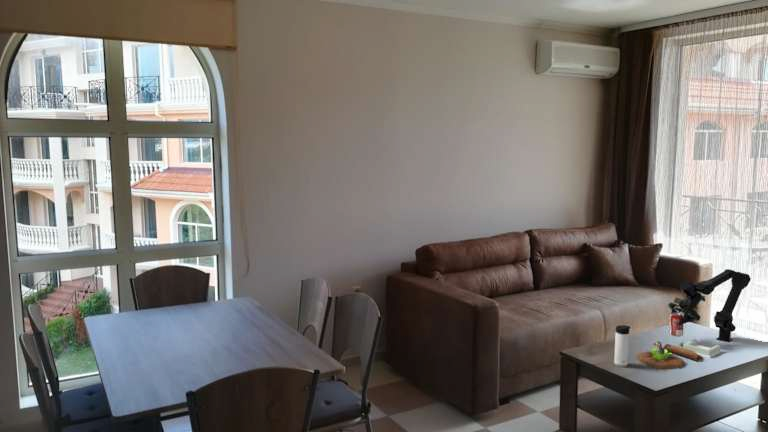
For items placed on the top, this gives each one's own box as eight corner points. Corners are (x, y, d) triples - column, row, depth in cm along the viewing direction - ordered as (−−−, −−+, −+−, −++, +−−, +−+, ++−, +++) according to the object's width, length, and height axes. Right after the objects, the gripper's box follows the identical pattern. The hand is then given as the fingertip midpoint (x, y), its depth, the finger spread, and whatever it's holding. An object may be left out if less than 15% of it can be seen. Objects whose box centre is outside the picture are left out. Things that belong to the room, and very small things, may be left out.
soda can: (685, 337, 313) (685, 315, 312) (671, 337, 314) (672, 315, 313) (680, 333, 320) (680, 312, 319) (667, 333, 321) (667, 312, 320)
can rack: (693, 345, 318) (693, 338, 317) (720, 352, 307) (721, 345, 306) (681, 350, 310) (682, 343, 309) (709, 357, 299) (710, 351, 298)
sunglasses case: (706, 358, 298) (703, 348, 295) (699, 367, 295) (696, 357, 293) (672, 348, 313) (669, 338, 310) (665, 356, 310) (662, 347, 308)
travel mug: (627, 368, 285) (629, 328, 283) (612, 365, 289) (614, 326, 286) (629, 364, 290) (631, 325, 288) (615, 361, 294) (617, 323, 292)
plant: (629, 358, 300) (630, 337, 298) (658, 353, 306) (659, 332, 305) (660, 372, 281) (661, 350, 280) (690, 366, 288) (692, 345, 286)
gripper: (671, 288, 325) (653, 309, 323) (696, 296, 307) (678, 318, 305) (682, 300, 327) (665, 321, 326) (708, 310, 309) (690, 332, 308)
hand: (674, 323), depth 316 cm, fingers closed on soda can, 6 cm apart
